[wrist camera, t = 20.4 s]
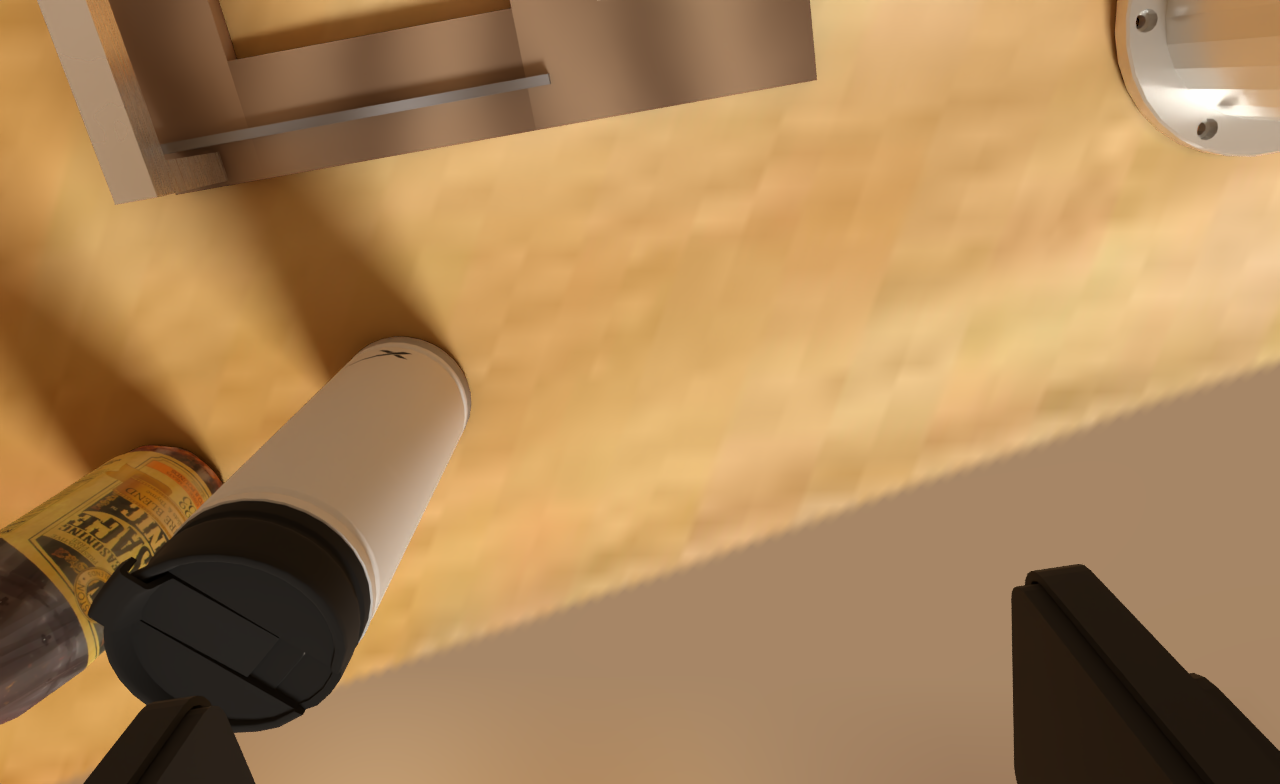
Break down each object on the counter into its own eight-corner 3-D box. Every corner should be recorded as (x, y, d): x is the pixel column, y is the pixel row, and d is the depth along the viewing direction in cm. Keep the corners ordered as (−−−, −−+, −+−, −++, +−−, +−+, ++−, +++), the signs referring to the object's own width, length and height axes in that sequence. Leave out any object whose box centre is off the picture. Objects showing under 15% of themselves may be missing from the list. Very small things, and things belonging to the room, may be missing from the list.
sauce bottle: (254, 531, 43) (-34, 871, 24) (143, 557, 43) (-224, 911, 25) (201, 418, 41) (-161, 696, 22) (84, 446, 41) (-367, 743, 23)
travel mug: (385, 304, 39) (157, 506, 20) (497, 389, 40) (383, 651, 22) (312, 399, 41) (37, 668, 22) (423, 478, 42) (255, 793, 23)
